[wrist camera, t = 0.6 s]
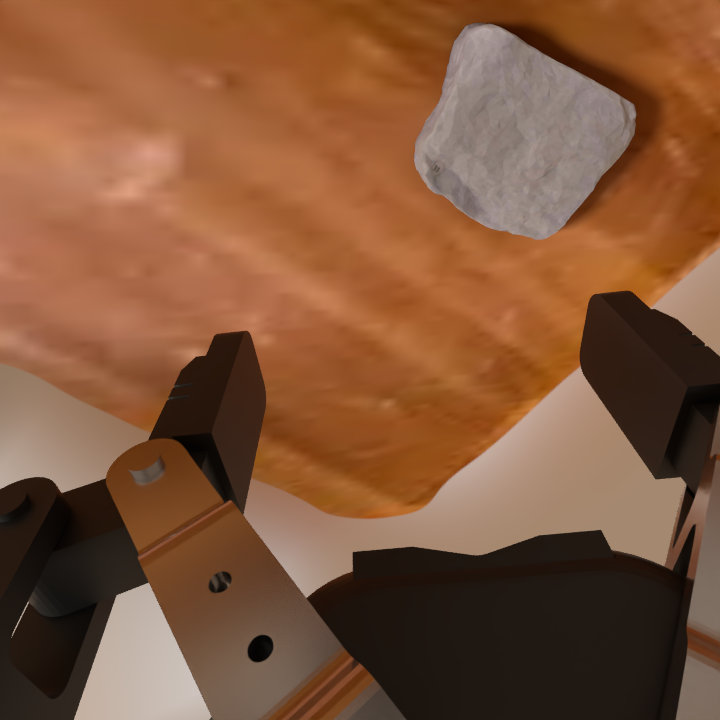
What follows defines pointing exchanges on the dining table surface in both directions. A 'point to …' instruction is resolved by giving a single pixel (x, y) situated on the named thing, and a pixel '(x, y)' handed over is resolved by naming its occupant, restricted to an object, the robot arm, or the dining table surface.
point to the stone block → (519, 134)
